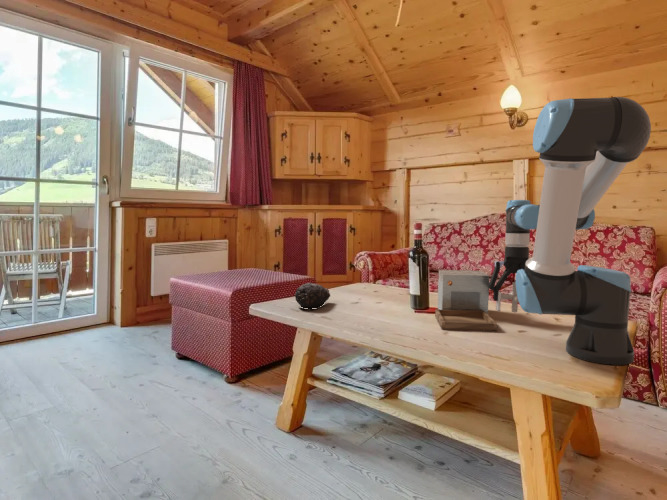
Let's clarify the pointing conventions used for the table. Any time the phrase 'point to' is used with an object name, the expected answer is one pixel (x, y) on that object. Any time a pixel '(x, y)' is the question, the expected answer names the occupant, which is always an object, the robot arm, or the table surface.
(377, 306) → the table surface
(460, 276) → the box
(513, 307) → the pipe connector
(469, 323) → the tray
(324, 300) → the black oval piece
